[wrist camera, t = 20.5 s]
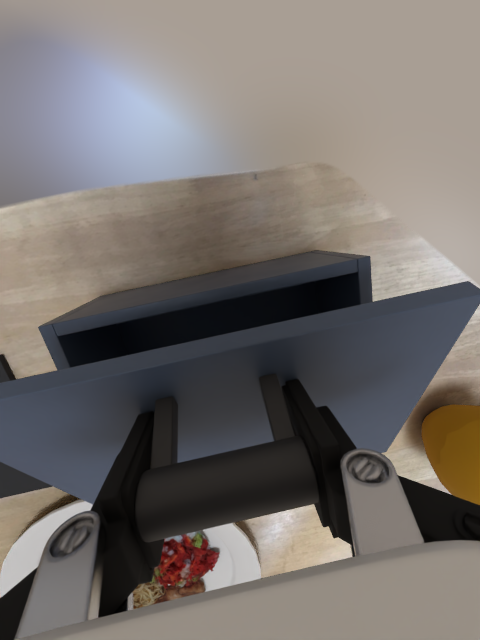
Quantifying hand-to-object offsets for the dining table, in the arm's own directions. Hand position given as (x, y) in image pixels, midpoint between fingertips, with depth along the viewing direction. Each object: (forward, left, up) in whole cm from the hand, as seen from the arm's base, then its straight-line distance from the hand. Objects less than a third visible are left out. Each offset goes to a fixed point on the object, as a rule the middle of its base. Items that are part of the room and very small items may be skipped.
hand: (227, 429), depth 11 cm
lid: (+2, 0, -3) cm, 4 cm away
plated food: (+30, -17, -15) cm, 38 cm away
